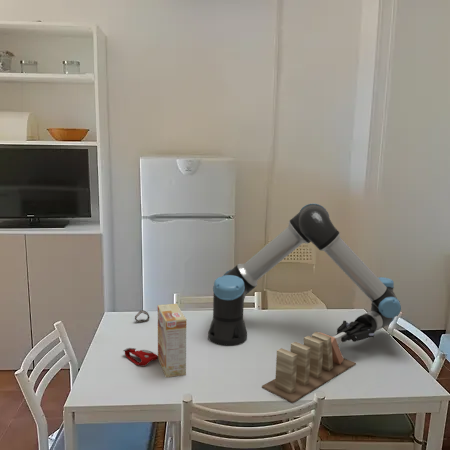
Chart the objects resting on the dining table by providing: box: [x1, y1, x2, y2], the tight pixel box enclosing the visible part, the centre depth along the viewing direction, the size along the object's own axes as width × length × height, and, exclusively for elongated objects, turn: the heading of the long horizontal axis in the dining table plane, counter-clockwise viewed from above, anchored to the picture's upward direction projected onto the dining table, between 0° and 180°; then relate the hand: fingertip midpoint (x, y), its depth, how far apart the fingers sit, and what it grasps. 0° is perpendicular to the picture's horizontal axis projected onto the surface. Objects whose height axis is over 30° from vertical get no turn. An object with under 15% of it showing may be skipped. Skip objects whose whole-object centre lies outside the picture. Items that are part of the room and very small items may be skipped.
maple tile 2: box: [303, 335, 324, 378], centre depth 154 cm, size 2×6×12 cm, turn 45°
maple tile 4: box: [274, 347, 297, 394], centre depth 144 cm, size 2×6×12 cm, turn 45°
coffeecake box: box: [157, 303, 188, 379], centre depth 157 cm, size 15×7×20 cm, turn 18°
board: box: [261, 357, 357, 404], centre depth 155 cm, size 36×12×1 cm, turn 135°
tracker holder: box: [122, 347, 158, 367], centre depth 162 cm, size 12×4×10 cm
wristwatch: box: [134, 309, 150, 324], centre depth 196 cm, size 4×6×5 cm, turn 122°
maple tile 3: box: [289, 341, 311, 386], centre depth 149 cm, size 2×6×12 cm, turn 45°
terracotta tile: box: [319, 331, 344, 364], centre depth 161 cm, size 2×6×12 cm
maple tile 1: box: [311, 331, 333, 371], centre depth 158 cm, size 2×6×12 cm, turn 45°
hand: (334, 341), depth 162 cm, fingers closed
